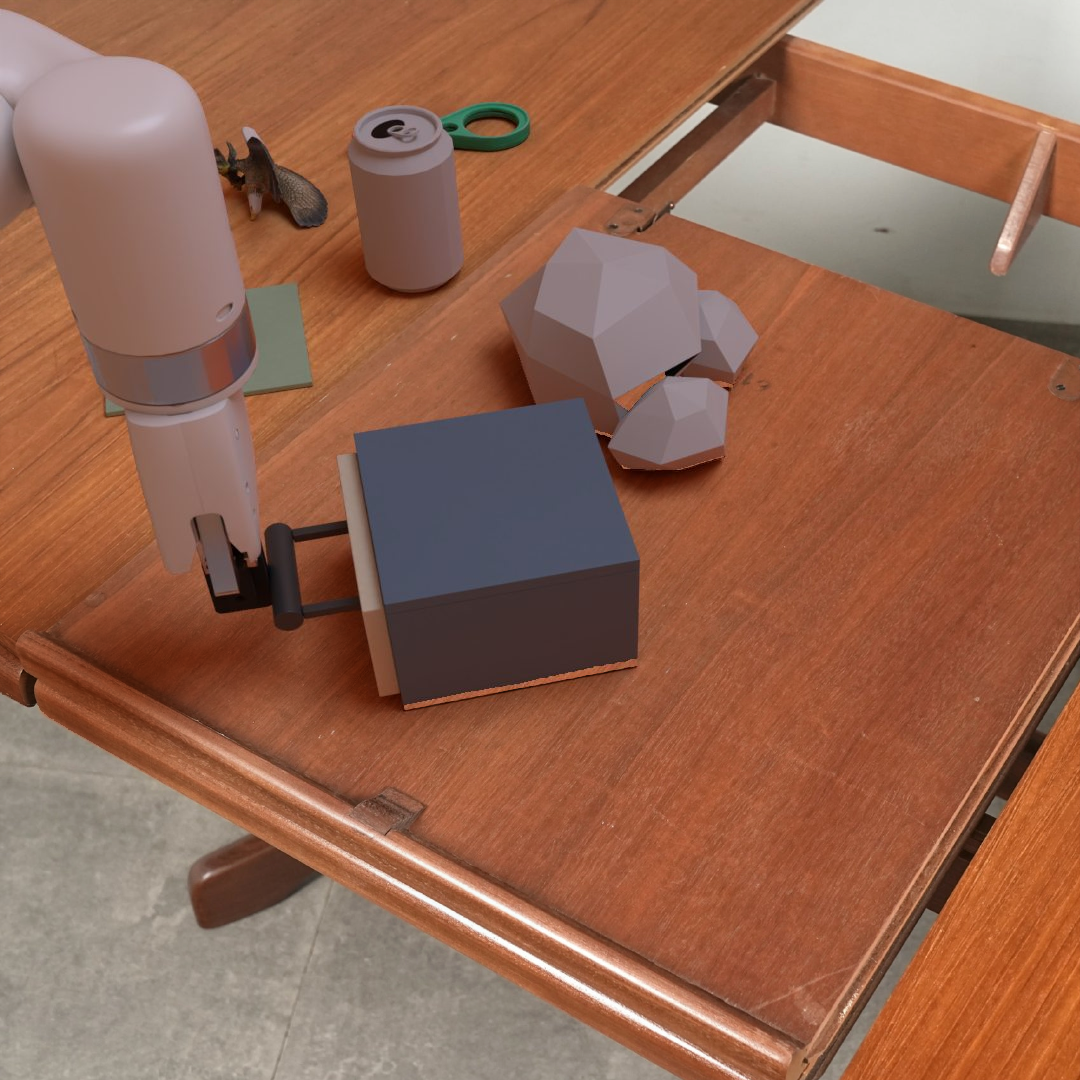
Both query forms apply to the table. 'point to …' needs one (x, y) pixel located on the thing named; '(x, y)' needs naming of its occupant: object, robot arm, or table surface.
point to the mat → (271, 343)
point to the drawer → (370, 594)
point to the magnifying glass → (468, 140)
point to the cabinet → (499, 549)
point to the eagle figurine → (271, 181)
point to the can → (406, 198)
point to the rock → (631, 346)
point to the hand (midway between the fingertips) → (244, 599)
